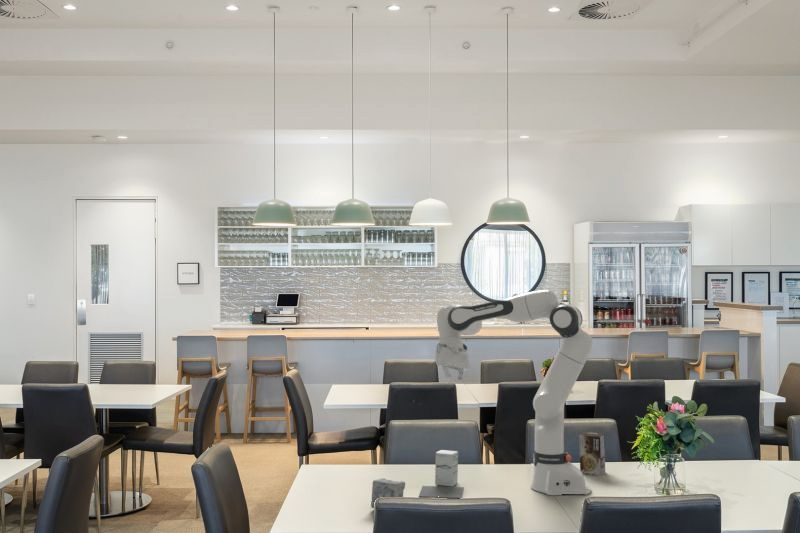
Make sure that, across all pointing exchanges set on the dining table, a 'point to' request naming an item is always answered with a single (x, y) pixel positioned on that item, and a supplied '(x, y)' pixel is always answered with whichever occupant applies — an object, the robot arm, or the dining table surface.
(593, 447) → the coffee box
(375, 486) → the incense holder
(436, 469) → the supplement box
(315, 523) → the dining table surface
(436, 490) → the mat
